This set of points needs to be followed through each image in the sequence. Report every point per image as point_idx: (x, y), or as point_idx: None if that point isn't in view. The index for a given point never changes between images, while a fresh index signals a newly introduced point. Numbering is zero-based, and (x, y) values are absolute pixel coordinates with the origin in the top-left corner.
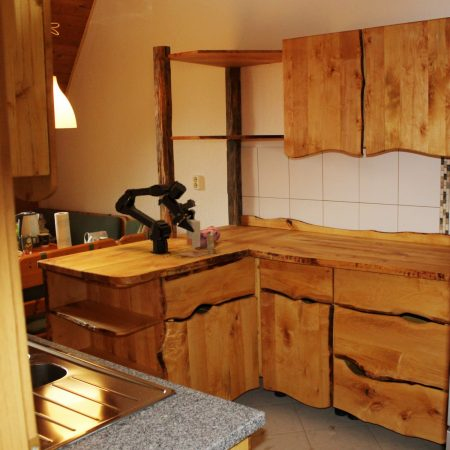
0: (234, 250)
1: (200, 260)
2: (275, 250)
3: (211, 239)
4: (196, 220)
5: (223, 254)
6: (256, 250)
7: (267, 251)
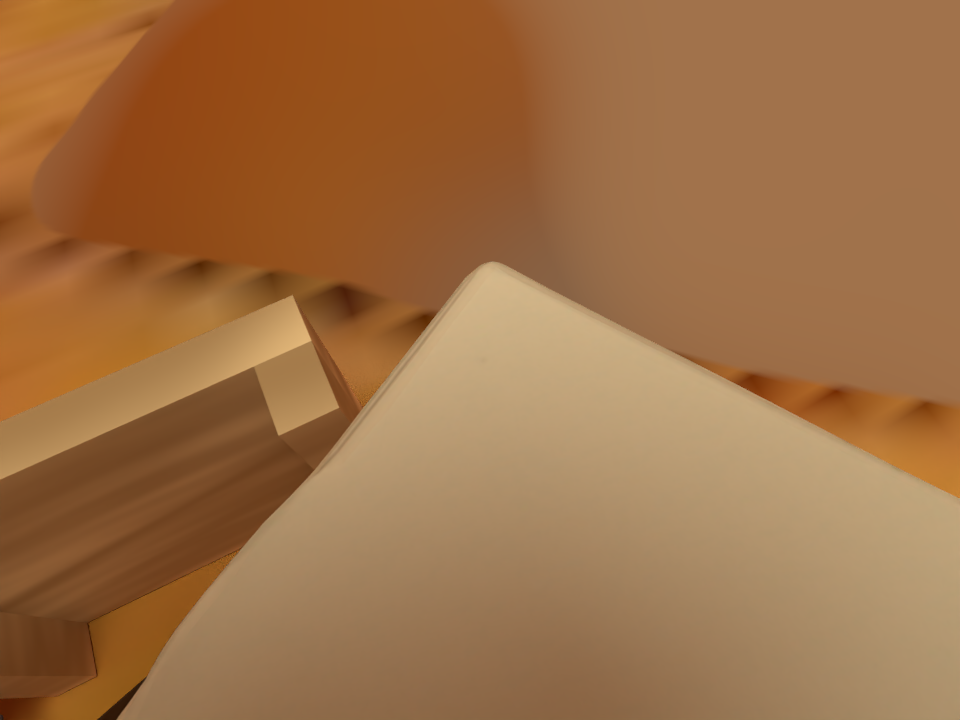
0: (74, 324)
1: (841, 388)
2: (48, 21)
3: (332, 369)
4: (453, 512)
5: (359, 322)
6: (58, 138)
7: (104, 50)
